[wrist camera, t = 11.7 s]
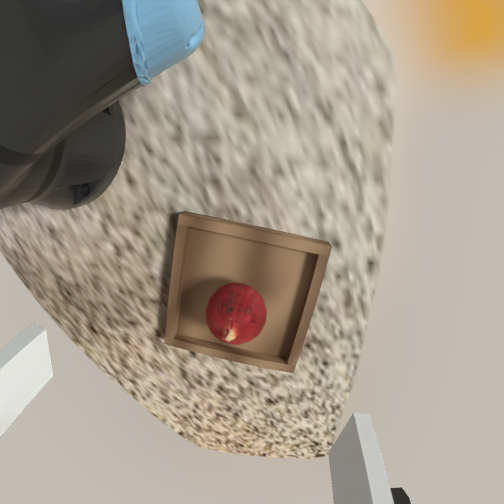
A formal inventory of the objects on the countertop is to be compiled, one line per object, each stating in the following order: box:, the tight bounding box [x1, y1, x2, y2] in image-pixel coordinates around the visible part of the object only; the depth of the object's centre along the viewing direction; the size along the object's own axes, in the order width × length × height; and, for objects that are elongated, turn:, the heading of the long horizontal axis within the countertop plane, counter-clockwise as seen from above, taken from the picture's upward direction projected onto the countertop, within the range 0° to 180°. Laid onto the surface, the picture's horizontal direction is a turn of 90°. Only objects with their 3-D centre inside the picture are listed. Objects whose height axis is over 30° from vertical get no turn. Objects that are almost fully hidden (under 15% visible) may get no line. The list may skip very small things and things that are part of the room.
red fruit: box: [205, 283, 267, 345], centre depth 30 cm, size 6×6×8 cm
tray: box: [164, 211, 332, 373], centre depth 33 cm, size 15×15×2 cm
